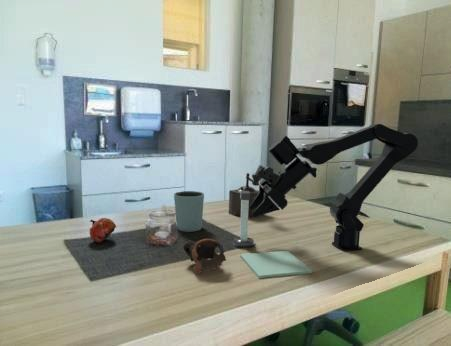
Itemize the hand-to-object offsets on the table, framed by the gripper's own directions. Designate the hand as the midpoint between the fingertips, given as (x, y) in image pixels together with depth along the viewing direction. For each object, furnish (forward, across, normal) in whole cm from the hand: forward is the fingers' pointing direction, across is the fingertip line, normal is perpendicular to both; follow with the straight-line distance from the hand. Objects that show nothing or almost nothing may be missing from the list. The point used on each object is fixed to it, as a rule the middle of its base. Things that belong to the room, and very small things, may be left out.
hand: (251, 212), depth 105 cm
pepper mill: (+5, -36, +9) cm, 37 cm away
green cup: (+21, -16, -7) cm, 27 cm away
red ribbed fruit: (+38, 0, -23) cm, 45 cm away
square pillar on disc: (+8, 0, +6) cm, 10 cm away
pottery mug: (+17, +17, -2) cm, 24 cm away
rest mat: (+4, +15, +11) cm, 18 cm away
